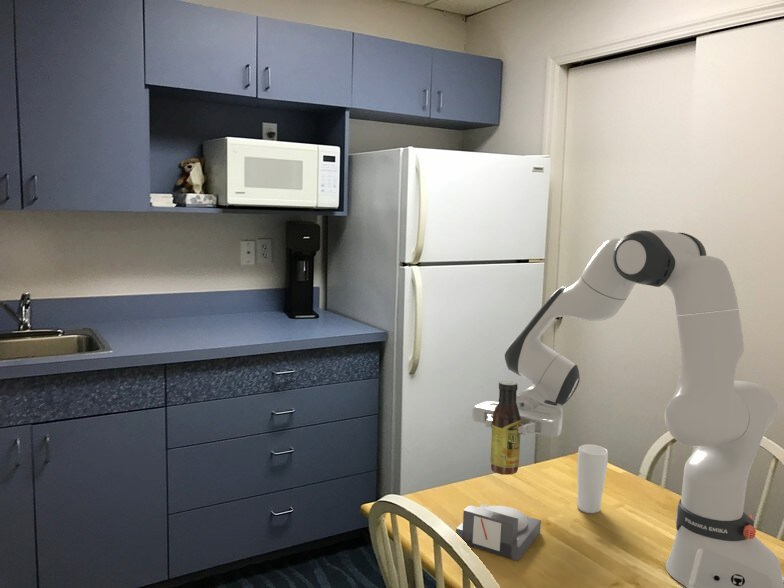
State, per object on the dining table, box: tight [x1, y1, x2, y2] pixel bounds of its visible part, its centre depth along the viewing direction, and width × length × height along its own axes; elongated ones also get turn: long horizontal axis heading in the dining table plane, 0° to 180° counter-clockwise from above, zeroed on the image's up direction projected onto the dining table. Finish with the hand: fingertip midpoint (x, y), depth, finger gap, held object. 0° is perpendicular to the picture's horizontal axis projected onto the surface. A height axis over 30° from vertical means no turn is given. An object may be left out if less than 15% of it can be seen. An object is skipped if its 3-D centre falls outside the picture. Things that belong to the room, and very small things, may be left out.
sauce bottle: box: [490, 380, 521, 476], centre depth 147 cm, size 7×6×20 cm
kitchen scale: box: [455, 503, 542, 562], centre depth 146 cm, size 14×14×8 cm
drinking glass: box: [576, 444, 609, 514], centre depth 160 cm, size 7×7×15 cm
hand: (504, 427), depth 147 cm, fingers closed on sauce bottle, 6 cm apart
